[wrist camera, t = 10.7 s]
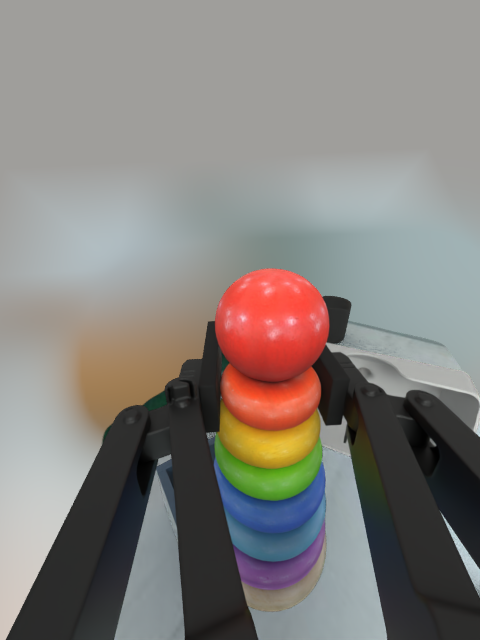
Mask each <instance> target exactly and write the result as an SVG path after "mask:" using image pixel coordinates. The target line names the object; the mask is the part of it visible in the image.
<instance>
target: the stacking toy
mask: <svg viewBox="0 0 480 640" xmlns="http://www.w3.org/2000/svg"><path fill="white" fill-rule="evenodd" d="M215 331H216V337H217V340H218V344H219V346H220V349H221V351H222V353H223V354H224V356H225V358H226V359H227V360H228V361H229V362H230V363H229V364H228V366H227V367H226V368H225V370H224V372H223V374H222V376H221V381H220V392H221V397H222V399H221V401H220V432H216V436H215V460H214V468H215V472H216V477H217V481H218V485H219V489H220V493H221V498H222V502H223V506H224V510H225V514H226V519H227V523H228V527H229V531H230V535H231V540H232V544H233V548H234V552H235V556H236V561H237V565H238V569H239V573H240V577H241V582H242V586H243V590H244V594H245V598H246V602H247V605H248V606H249V607H251V608H253V609H257V610H260V611H266V612H275V611H282V610H286V609H289V608H291V607H293V606H295V605H297V604H299V603H300V602H301V601H303V600H304V599H305V598H306V597H307V596H308V595H309V594H310V592H311V591H312V590H313V588H314V587H315V585H316V584H317V582H318V580H319V578H320V575H321V573H322V570H323V566H324V562H325V557H326V533H325V511H326V497H325V491H324V490H325V470H324V466H323V462H322V444H321V439H320V436H319V435H320V430H321V420H320V415H319V412H318V409H317V407H318V405H319V402H320V398H321V383H320V380H319V377H318V375H317V373H316V372H315V370H314V369H313V368H312V365H313V364H314V363H315V361H316V360H317V359H318V358H319V356H320V355H321V353H322V351H323V349H324V347H325V345H326V342H327V338H328V334H329V315H328V310H327V307H326V304H325V302H324V300H323V298H322V296H321V294H320V293H319V291H318V290H317V289H316V288H315V287H314V286H313V285H312V284H311V283H310V282H309V281H308V280H306V279H305V278H303V277H302V276H300V275H298V274H295V273H293V272H290V271H287V270H282V269H262V270H257V271H253V272H251V273H248V274H246V275H244V276H242V277H241V278H239V279H238V280H237V281H235V282H234V283H233V284H232V285H231V286H230V287H229V288H228V289H227V290H226V292H225V293H224V295H223V297H222V298H221V300H220V302H219V305H218V308H217V311H216V318H215Z"/></svg>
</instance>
